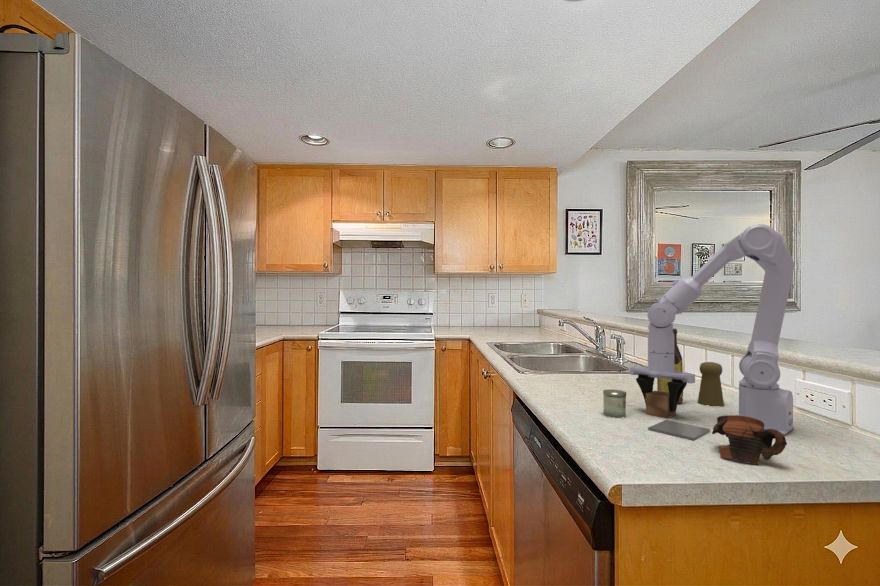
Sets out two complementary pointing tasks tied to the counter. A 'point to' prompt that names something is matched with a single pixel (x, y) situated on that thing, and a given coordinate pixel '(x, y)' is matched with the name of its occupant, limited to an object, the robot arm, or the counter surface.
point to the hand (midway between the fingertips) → (660, 408)
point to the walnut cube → (658, 404)
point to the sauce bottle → (678, 366)
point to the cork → (710, 384)
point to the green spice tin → (614, 403)
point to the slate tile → (679, 429)
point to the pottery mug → (748, 439)
